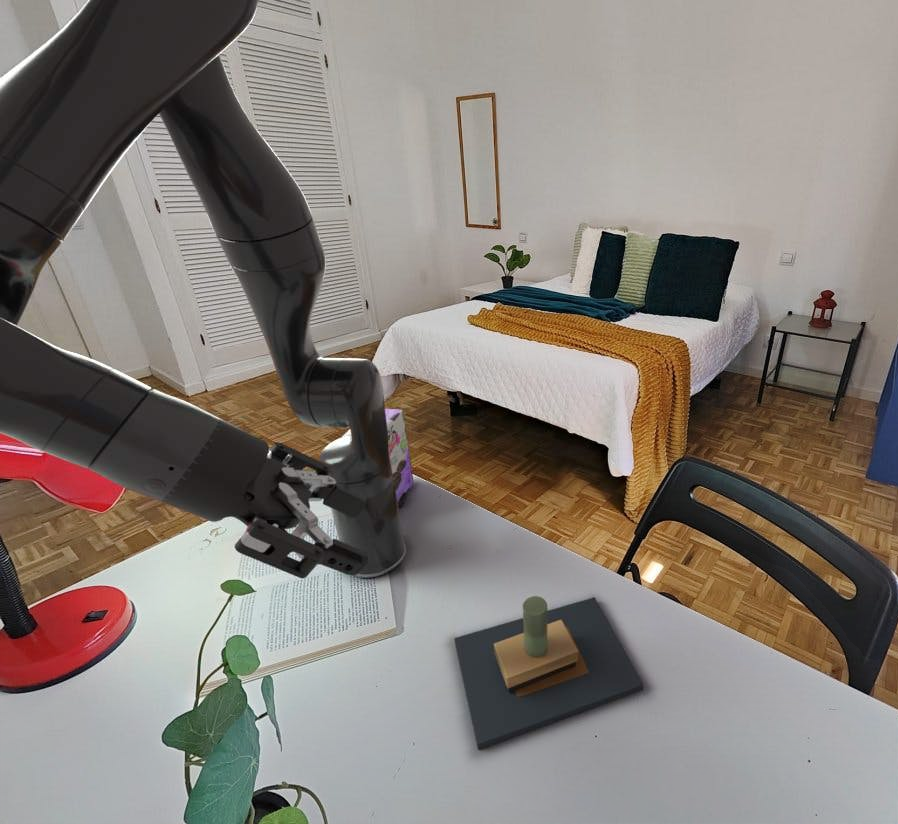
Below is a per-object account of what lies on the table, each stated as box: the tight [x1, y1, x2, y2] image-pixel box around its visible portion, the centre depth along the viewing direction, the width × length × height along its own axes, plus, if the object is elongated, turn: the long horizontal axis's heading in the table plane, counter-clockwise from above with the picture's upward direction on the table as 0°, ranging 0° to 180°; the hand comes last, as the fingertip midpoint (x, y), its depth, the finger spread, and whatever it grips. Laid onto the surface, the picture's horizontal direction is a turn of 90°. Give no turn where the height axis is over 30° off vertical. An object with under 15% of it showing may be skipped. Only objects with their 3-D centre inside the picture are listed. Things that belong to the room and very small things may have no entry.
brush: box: [494, 595, 578, 693], centre depth 58 cm, size 5×9×10 cm, turn 113°
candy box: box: [339, 407, 415, 502], centre depth 87 cm, size 14×6×16 cm, turn 168°
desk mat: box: [453, 596, 645, 750], centre depth 61 cm, size 14×20×1 cm
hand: (362, 535), depth 48 cm, fingers open, 8 cm apart
